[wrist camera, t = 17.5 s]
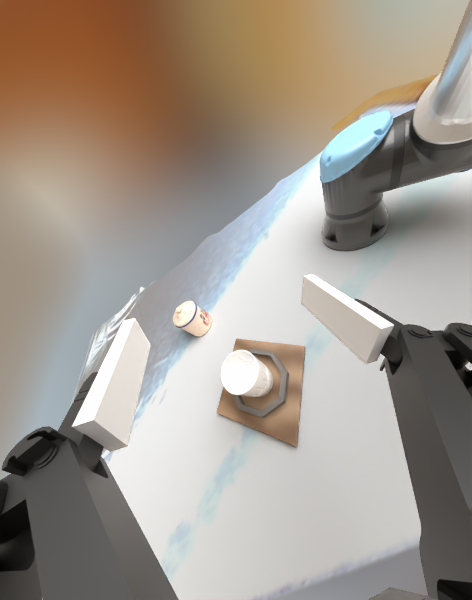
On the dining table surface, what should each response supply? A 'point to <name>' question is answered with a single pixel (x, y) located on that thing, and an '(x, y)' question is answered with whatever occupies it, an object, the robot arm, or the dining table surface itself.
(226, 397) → the ring holder
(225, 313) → the dining table surface
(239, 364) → the white cup
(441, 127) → the robot arm
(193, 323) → the teacup with lid
